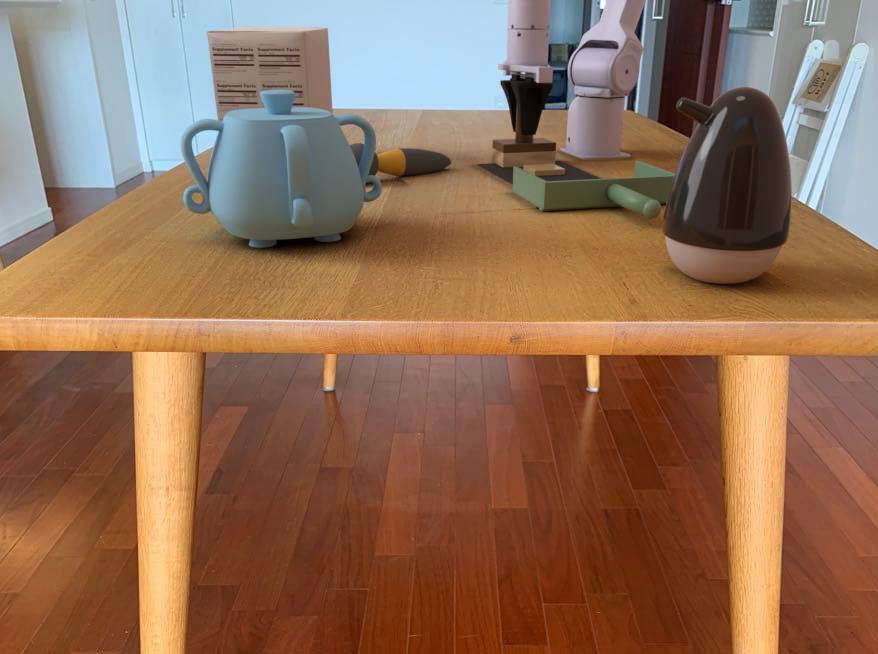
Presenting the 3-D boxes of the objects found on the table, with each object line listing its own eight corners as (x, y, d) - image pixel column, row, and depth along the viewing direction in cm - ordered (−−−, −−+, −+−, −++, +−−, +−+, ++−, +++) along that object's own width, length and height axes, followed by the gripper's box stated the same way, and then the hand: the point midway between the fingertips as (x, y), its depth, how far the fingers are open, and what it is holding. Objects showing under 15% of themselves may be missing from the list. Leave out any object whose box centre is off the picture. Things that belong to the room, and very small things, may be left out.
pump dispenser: (640, 259, 74) (660, 81, 67) (751, 258, 75) (781, 81, 68) (675, 294, 65) (701, 92, 58) (800, 293, 65) (841, 92, 59)
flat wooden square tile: (522, 170, 113) (523, 164, 113) (552, 169, 114) (553, 163, 114) (534, 176, 109) (534, 170, 109) (565, 174, 110) (565, 168, 110)
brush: (491, 162, 119) (493, 101, 115) (542, 159, 121) (545, 100, 117) (502, 167, 115) (504, 105, 111) (555, 165, 117) (558, 104, 113)
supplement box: (253, 152, 127) (240, 26, 120) (337, 153, 127) (329, 27, 119) (220, 172, 112) (202, 28, 104) (315, 173, 112) (305, 29, 104)
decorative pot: (170, 240, 79) (147, 92, 73) (283, 208, 92) (271, 80, 86) (296, 265, 72) (281, 103, 66) (400, 227, 84) (396, 87, 78)
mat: (476, 166, 118) (476, 164, 118) (558, 162, 121) (559, 160, 121) (518, 190, 102) (518, 187, 102) (611, 185, 106) (612, 182, 105)
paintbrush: (432, 166, 117) (432, 130, 115) (456, 171, 114) (456, 134, 111) (319, 185, 104) (316, 145, 102) (342, 191, 101) (339, 149, 99)
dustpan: (512, 193, 100) (513, 166, 99) (636, 187, 104) (638, 160, 103) (579, 233, 82) (581, 201, 81) (725, 223, 87) (729, 192, 85)
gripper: (484, 27, 115) (482, 127, 121) (518, 30, 103) (514, 141, 109) (530, 27, 117) (526, 126, 123) (569, 30, 105) (563, 139, 111)
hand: (524, 133), depth 116 cm, fingers closed on brush, 2 cm apart
